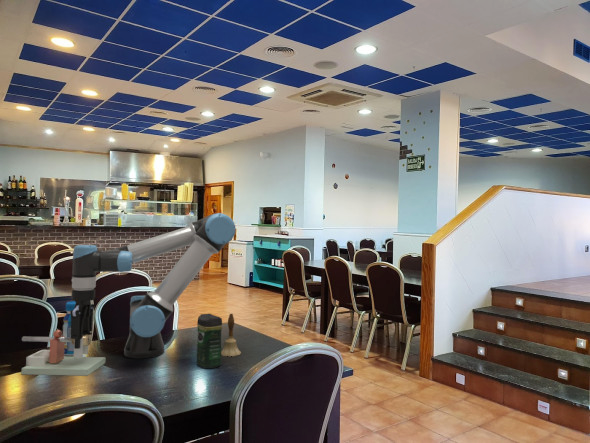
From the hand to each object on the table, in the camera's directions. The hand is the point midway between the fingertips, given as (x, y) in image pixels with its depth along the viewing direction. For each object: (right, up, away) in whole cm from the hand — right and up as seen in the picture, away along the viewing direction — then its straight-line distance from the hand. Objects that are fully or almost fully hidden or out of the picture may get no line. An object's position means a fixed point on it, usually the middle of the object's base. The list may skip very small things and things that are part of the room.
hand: (81, 355), depth 152 cm
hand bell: (+49, -7, +22) cm, 55 cm away
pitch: (-5, -5, 0) cm, 7 cm away
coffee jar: (+43, -6, +7) cm, 45 cm away
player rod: (-9, -2, 0) cm, 9 cm away
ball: (-12, 0, 0) cm, 12 cm away
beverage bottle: (-12, -5, +18) cm, 22 cm away
